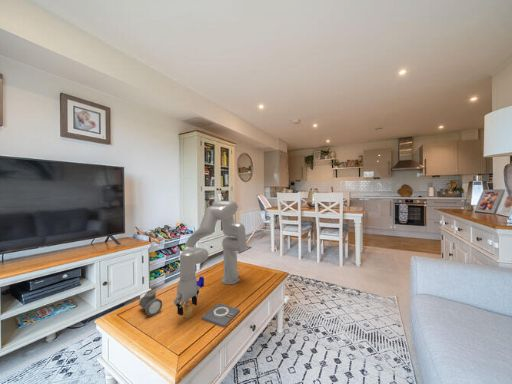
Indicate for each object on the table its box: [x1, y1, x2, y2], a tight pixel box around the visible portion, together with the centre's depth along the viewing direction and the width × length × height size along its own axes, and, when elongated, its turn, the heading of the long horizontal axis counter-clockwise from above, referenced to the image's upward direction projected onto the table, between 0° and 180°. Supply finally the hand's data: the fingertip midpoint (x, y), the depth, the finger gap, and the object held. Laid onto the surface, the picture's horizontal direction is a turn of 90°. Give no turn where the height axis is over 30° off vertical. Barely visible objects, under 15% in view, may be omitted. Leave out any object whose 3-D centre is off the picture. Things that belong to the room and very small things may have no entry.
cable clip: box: [196, 275, 205, 289], centre depth 133 cm, size 12×4×6 cm, turn 144°
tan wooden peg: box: [183, 299, 193, 320], centre depth 104 cm, size 4×4×8 cm
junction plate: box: [201, 302, 240, 328], centre depth 104 cm, size 14×14×2 cm
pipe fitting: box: [138, 290, 163, 317], centre depth 108 cm, size 12×8×10 cm
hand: (187, 309), depth 103 cm, fingers open, 9 cm apart
